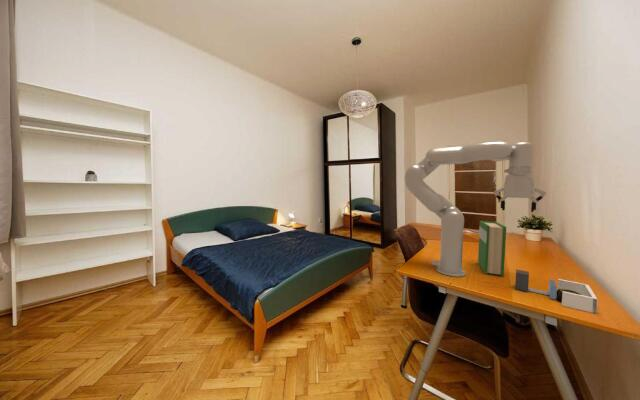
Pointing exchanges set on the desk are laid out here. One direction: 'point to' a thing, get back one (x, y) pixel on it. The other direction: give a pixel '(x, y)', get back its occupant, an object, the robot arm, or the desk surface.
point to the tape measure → (559, 291)
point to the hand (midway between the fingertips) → (517, 210)
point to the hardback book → (492, 247)
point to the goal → (578, 296)
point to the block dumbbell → (522, 285)
